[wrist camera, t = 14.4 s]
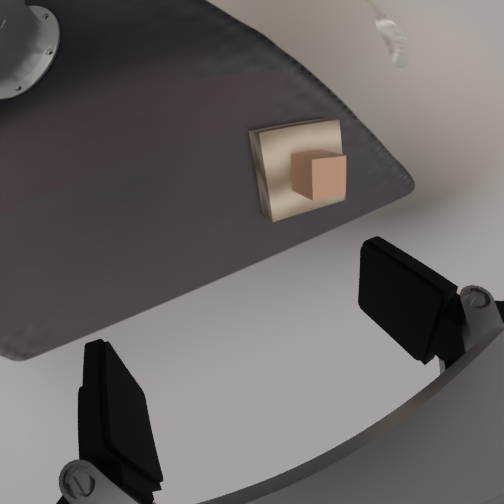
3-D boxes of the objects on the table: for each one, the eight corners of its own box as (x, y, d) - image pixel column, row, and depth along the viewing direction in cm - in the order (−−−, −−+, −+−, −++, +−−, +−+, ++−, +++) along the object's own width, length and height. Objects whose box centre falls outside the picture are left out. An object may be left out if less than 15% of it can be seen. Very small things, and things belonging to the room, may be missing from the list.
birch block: (247, 131, 37) (258, 133, 34) (322, 118, 40) (339, 119, 37) (261, 212, 43) (272, 222, 40) (329, 192, 46) (345, 199, 43)
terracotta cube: (290, 153, 37) (311, 159, 32) (323, 149, 38) (345, 155, 34) (292, 190, 39) (312, 200, 35) (323, 185, 40) (345, 194, 36)
